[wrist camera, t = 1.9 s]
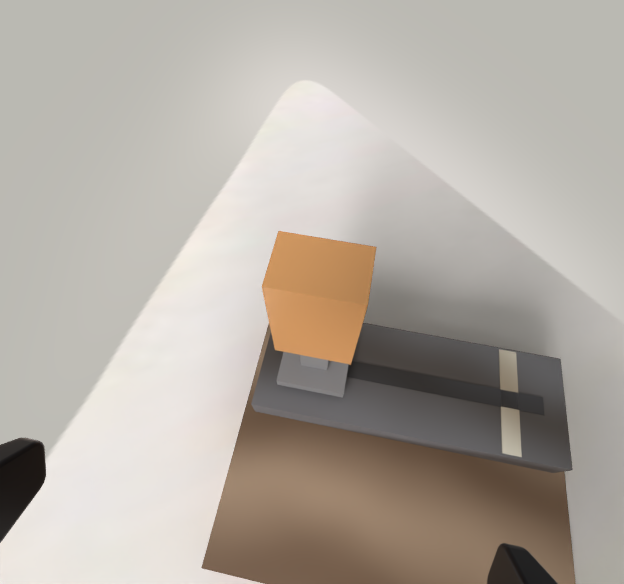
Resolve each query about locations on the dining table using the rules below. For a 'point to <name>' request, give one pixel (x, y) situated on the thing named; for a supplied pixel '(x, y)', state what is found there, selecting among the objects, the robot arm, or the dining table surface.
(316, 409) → the fader console
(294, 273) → the cap
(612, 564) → the dining table surface
